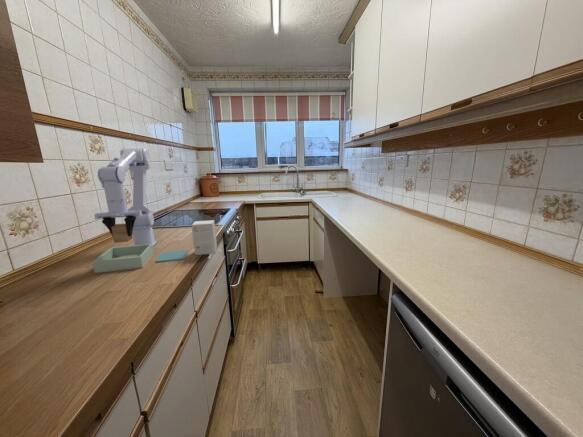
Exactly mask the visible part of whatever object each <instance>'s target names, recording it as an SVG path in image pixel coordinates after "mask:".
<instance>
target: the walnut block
mask: <svg viewBox="0 0 583 437" xmlns="http://www.w3.org/2000/svg"><path fill="white" fill-rule="evenodd" d="M115 224H116V225H114V226H112V227H111V228H112V233H113V236H112V239H113V243H114V244H115V243H126V242H127V243H128V242H130V241H131V240H132V239H133V235H131V236H128V231H127V226H126V223H125V222H124V223H115Z"/></svg>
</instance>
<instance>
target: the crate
mask: <svg viewBox="0 0 583 437" xmlns="http://www.w3.org/2000/svg"><path fill="white" fill-rule="evenodd" d="M154 254H155V252H154V246H153V244H145V245H135V244H133V245H127V246H125V245H124V246H115V247H110V248H109V249H107V250H106V251H105V252H104V253H102V254H101V255H99V256H98V257H97V258H95V259H94V260H92V261H91V263H92V266H93V273H95V274H98V273H105V272H114V271H122V270H123V271H124V270H131V269H139V268H140V269H141V268H142V269H143V267H144V266H145V265H146V264H147V263H148V262H149V260H150V259H151V257H152V256H153V255H154Z"/></svg>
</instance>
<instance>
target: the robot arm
mask: <svg viewBox="0 0 583 437" xmlns="http://www.w3.org/2000/svg"><path fill="white" fill-rule="evenodd" d="M119 154H120V156H119V157H118V156H117V157H114V158H113V159H112V160H111V162H109V163H108V164H107V166H101V167H100V168H99V169H97V170H98V171H97V178H98V181H99V183H100V184H101V187H102V189H103V190H104V195H105V199H106V204H107V205H106V206H107V211H103V212H95V213H94V219H95V220H100V219H102V220H101V223H102V224H103V225H104V226H105V227H106V228H107V229H108V231H109V233H110V234H111V236H112V237H113V233H112V228H111V227H112V226H114V225H116V224H117V223H116V218H123V220H124V223H126V226H127V231H128V236H131V235H132V239H133V245H145V244H153V247H154V246H155V244H157V242H158V241H157V240H155V234H154V229H153V225H154V224H155V216H154V211H153V210H152V209H151V208H150V207H148V206H147V182H146V181H147V170H150V168H151V167H150V166H151V157H150V153H149V151H148V149H147V148H145V147H144V148H121V150H120V153H119ZM129 171H131V172H133V175H132V176H133V180H132V181H133V183H132V185H133V186H132V189H133V190H132V196H133V197H132V206H131V207H129V208H128V205H127V199H126V193H125V188H124V184H123V183H124V182H126V175H127V174H126V173H127V172H129Z"/></svg>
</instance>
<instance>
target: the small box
mask: <svg viewBox="0 0 583 437" xmlns="http://www.w3.org/2000/svg"><path fill="white" fill-rule="evenodd" d="M191 230H192V232H191V233H192V239H193V248H194V255H195V256H200V255H201V256H202V255H214V254H216V251H217V249H218V244H217V234H216V232H217V231H216V224H215V220H214V219H212V220H211V219H210V220H195V221H194V222H193V223H192V224H191Z"/></svg>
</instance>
